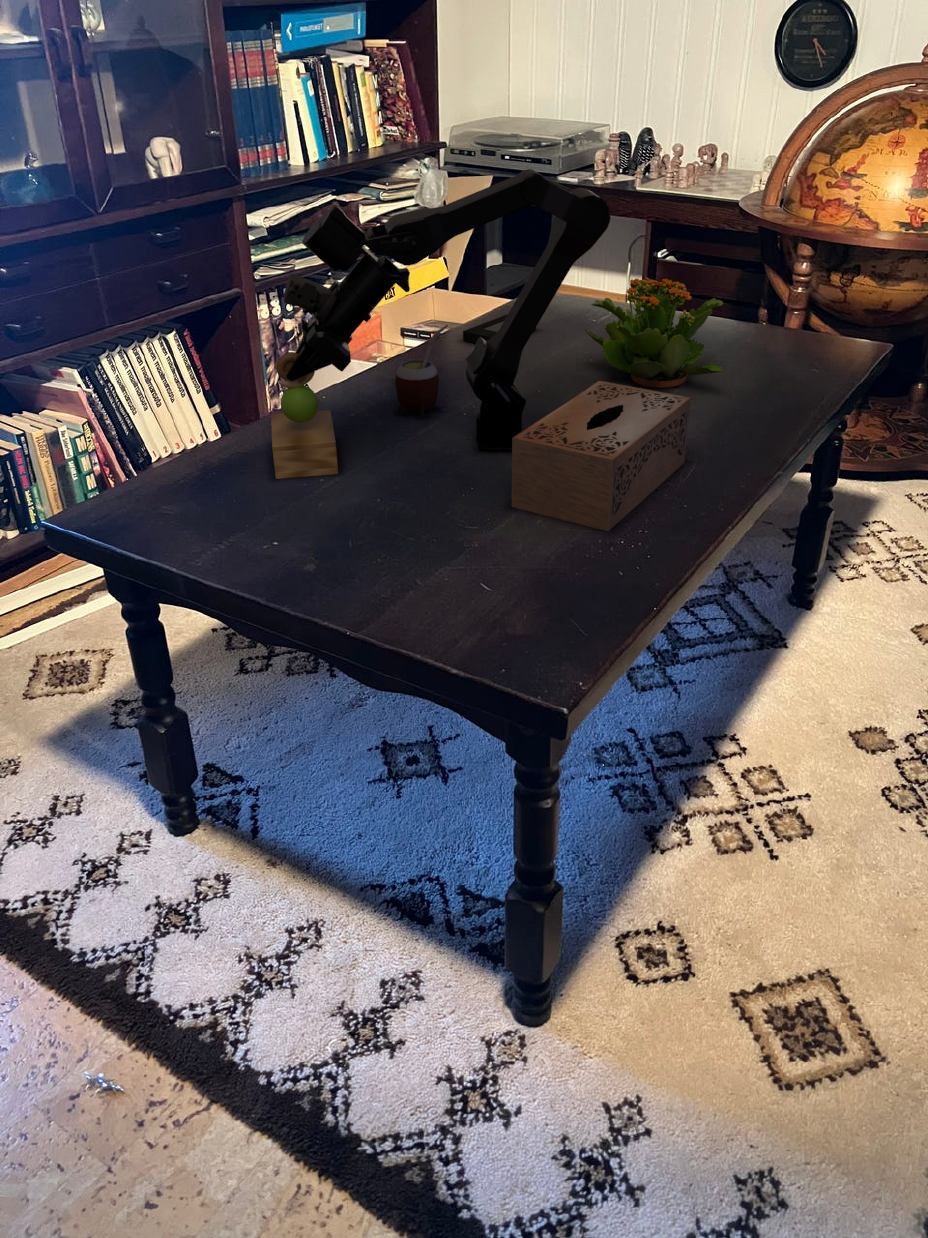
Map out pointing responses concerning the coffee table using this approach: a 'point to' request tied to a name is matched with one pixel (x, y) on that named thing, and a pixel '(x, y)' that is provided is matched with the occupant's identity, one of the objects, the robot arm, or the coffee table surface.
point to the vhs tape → (484, 330)
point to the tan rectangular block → (304, 446)
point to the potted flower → (655, 334)
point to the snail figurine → (296, 392)
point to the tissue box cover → (599, 454)
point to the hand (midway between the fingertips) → (288, 376)
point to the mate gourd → (418, 384)
